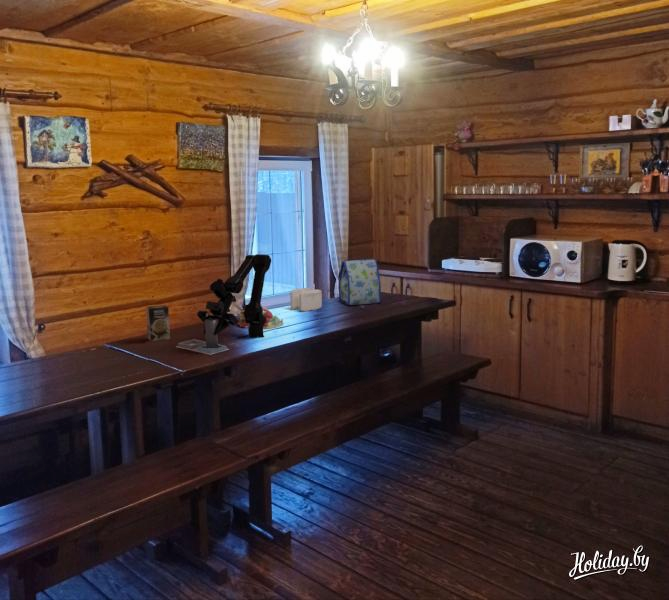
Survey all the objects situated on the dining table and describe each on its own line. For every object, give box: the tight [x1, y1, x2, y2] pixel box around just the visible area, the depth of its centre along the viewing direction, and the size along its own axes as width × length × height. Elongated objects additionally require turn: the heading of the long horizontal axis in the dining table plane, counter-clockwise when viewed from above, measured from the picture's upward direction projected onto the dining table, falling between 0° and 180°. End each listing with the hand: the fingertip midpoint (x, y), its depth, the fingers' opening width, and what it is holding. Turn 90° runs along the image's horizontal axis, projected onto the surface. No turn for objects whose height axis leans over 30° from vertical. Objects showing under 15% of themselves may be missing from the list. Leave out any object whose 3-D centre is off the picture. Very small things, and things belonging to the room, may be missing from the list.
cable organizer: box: [289, 287, 323, 313], centre depth 384 cm, size 15×11×12 cm
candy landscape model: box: [235, 306, 285, 330], centre depth 349 cm, size 25×24×9 cm
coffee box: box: [146, 304, 171, 342], centre depth 316 cm, size 9×6×16 cm
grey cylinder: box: [204, 319, 219, 348], centre depth 293 cm, size 5×5×12 cm
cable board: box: [175, 338, 230, 357], centre depth 298 cm, size 23×11×2 cm, turn 52°
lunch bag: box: [338, 258, 382, 306], centre depth 401 cm, size 22×17×26 cm
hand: (209, 334), depth 292 cm, fingers closed on grey cylinder, 5 cm apart
